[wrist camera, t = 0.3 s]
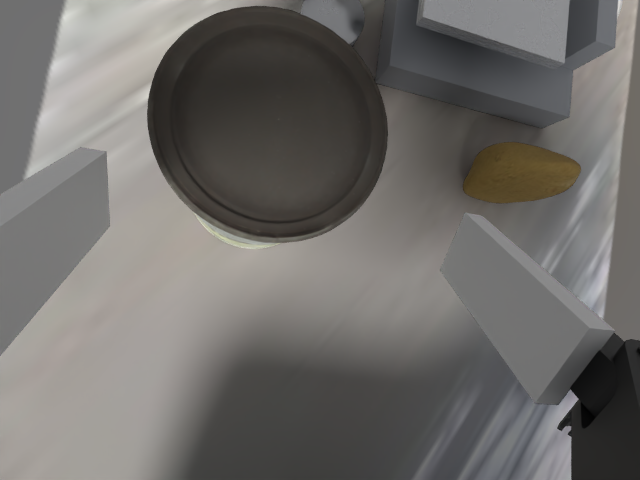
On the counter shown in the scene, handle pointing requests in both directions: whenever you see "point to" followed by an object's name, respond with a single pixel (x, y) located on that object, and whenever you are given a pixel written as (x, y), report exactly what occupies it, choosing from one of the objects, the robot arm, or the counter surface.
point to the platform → (503, 26)
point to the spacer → (337, 16)
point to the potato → (519, 173)
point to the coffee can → (266, 126)
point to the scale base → (490, 64)
